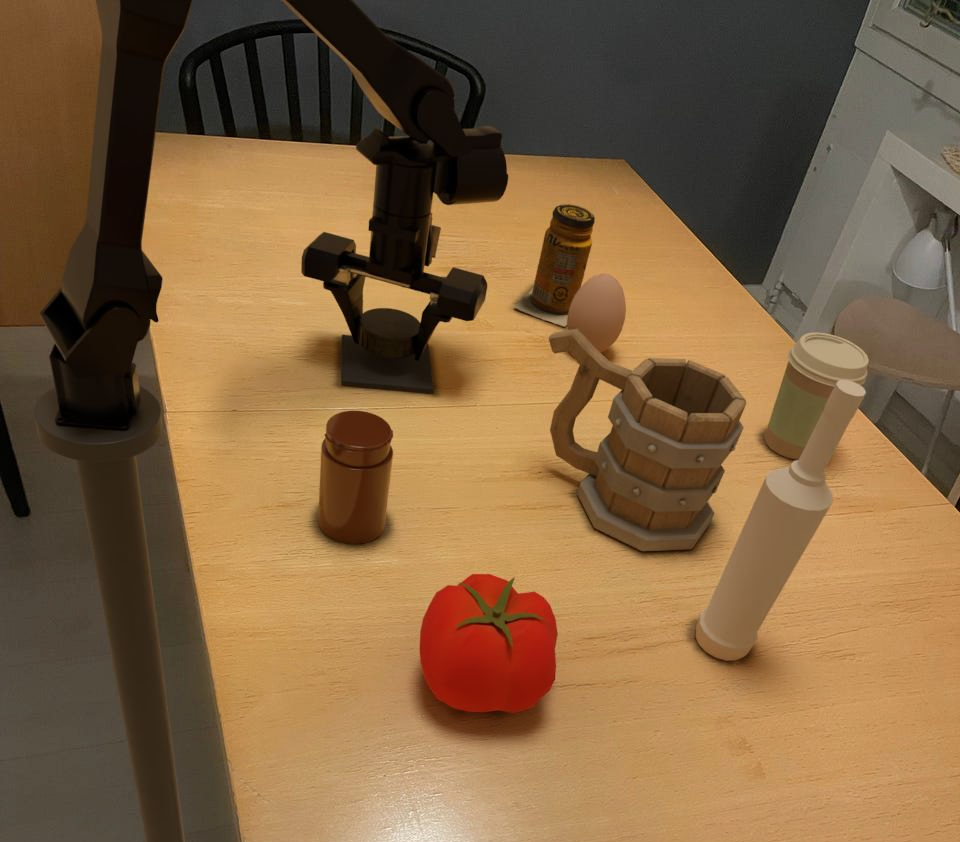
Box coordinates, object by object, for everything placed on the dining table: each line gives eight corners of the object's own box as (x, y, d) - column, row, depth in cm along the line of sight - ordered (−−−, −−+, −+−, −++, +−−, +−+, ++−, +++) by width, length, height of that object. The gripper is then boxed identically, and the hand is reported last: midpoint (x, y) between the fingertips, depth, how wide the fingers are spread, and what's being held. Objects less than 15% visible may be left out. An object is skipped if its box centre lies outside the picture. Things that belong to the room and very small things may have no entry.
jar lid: (432, 345, 101) (434, 325, 99) (394, 365, 97) (396, 345, 95) (383, 320, 103) (385, 301, 101) (344, 339, 99) (345, 320, 97)
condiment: (585, 304, 121) (609, 212, 113) (564, 328, 115) (588, 233, 107) (535, 286, 122) (555, 194, 114) (512, 309, 116) (531, 214, 108)
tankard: (721, 507, 93) (779, 377, 83) (677, 570, 85) (735, 434, 74) (552, 429, 98) (586, 297, 88) (495, 481, 90) (525, 342, 79)
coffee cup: (824, 437, 107) (872, 343, 98) (824, 475, 101) (875, 379, 92) (754, 416, 108) (795, 321, 99) (750, 453, 102) (793, 356, 93)
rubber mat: (341, 385, 97) (341, 380, 97) (341, 339, 104) (341, 334, 104) (433, 394, 99) (434, 389, 99) (427, 347, 106) (428, 343, 106)
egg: (586, 371, 108) (607, 293, 102) (548, 343, 112) (567, 266, 105) (624, 359, 112) (648, 283, 105) (587, 333, 115) (607, 258, 108)
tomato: (384, 675, 70) (395, 594, 64) (483, 617, 76) (502, 538, 70) (478, 764, 66) (500, 686, 59) (576, 695, 72) (604, 618, 66)
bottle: (682, 624, 80) (799, 369, 62) (730, 616, 82) (857, 366, 64) (711, 667, 77) (843, 411, 59) (761, 657, 78) (904, 407, 61)
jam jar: (317, 542, 79) (321, 446, 72) (318, 499, 83) (323, 405, 76) (385, 546, 80) (396, 452, 73) (383, 504, 85) (394, 411, 77)
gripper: (510, 203, 94) (485, 341, 106) (341, 158, 96) (333, 299, 107) (485, 242, 87) (461, 386, 98) (301, 191, 88) (297, 340, 99)
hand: (387, 350), depth 100 cm, fingers closed on jar lid, 7 cm apart
